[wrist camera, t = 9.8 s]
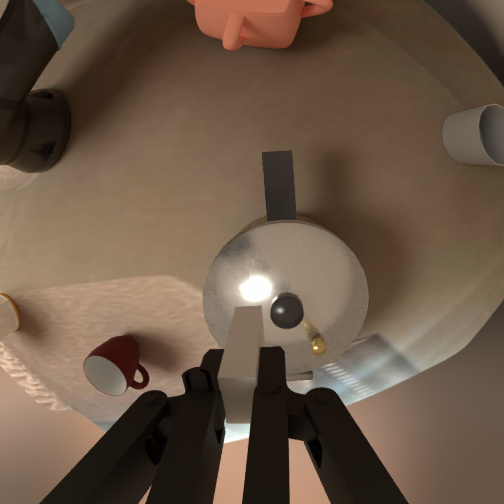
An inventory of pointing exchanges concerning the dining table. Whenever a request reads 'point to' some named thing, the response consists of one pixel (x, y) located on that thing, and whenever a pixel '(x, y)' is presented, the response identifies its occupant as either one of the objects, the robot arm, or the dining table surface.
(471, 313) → the dining table surface
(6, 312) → the cup
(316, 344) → the lid
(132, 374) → the mug
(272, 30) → the teapot
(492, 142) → the cup
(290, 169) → the pot
